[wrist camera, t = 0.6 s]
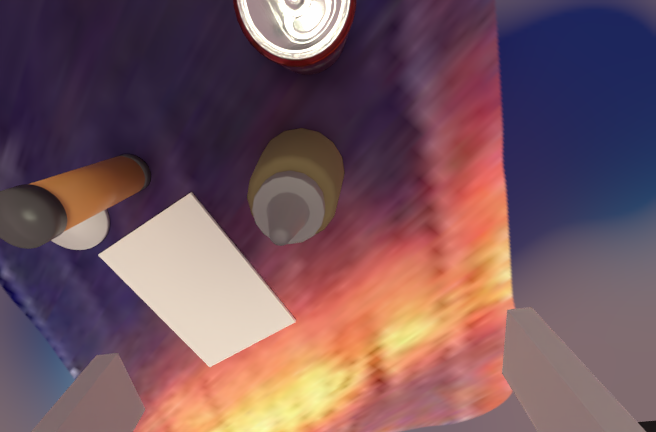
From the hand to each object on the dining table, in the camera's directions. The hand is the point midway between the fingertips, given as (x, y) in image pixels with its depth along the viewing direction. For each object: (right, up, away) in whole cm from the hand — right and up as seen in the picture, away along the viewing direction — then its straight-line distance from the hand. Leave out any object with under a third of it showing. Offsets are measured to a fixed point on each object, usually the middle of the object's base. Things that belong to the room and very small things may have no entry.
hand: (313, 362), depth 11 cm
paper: (-15, -4, +28) cm, 32 cm away
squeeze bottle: (-2, +11, +23) cm, 26 cm away
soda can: (-1, +22, +19) cm, 29 cm away
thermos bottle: (-20, +10, +23) cm, 32 cm away
